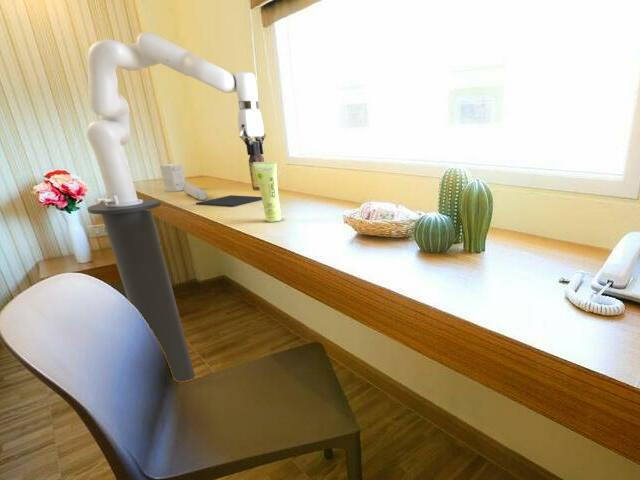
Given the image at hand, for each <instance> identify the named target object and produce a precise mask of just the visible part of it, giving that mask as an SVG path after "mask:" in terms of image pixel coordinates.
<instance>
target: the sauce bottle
mask: <svg viewBox="0 0 640 480" xmlns="http://www.w3.org/2000/svg"><path fill="white" fill-rule="evenodd" d="M252 145H254V152H255V155H249V158H248V167H249V175H250V182H251V188H252V190H253V191H258V192H259V191H260V188H259V184H258V180H257V176H256V172H255V169H254V166H253V162H265V159H264V156H263V154H261V153H260V147H259V145H260V143H259V141H255V140H252Z"/></svg>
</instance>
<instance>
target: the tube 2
mask: <svg viewBox="0 0 640 480" xmlns="http://www.w3.org/2000/svg"><path fill="white" fill-rule="evenodd" d="M253 166H254V169H255V172H256V176H257V180H258V184H259V188H260V197H262V200H261V201H262V206H263V210H264V216H265V221H266V222H268V223H274V222H280V221H281V220H282V216H281V214H282V213H281V206H280V198H279V197H280V196H279V188H278V176H277V161H273V160H272V161H264V162H253Z"/></svg>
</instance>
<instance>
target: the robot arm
mask: <svg viewBox="0 0 640 480" xmlns="http://www.w3.org/2000/svg"><path fill="white" fill-rule="evenodd" d="M86 57H87V59H86V64H87V76H88V77H87V87H88V106H89V108H90V110H91V111H92V112H93V113H94V114H96V115H98V116H100V117H101V119H99V120H98V119H97V120H93V121H92V122H90V123H89V124H88V126H87V127H86V137H87V139H88V142H89V144H90V146H91V149H92V150H93V151H92V152H93V153H94V156H95V159H96V162H97V165H98V168H99V172H100V175H101V178H102V182H103V185H104V188H105V191H106V194H104V196H103V197H99V198H95V200H94V201H95V204H96V205H97V204H101V203H105V205H106V207H126V206H133V205H138V204H142V203H143V200H141V199H142V198H138V195H137V191H136V187H135V184H134V179H133V176H132V173H131V169H130V164H129V162H128V158H127V155H126V153H125V151H124V148H123V146H125V145H126V144H127V143H128V142H129V140H130V137H131V119H130V118H131V116H130V113H131V112H130V105H129V103H128V101H127V99H126V98H125V97H124V95H122V94H121V93H119V90H118V87H119V84H118V83H119V82H118V81H119V80H118V75H117V72H116V71H117V69H122V70H126V71H132V72H133V71H134V72H135V71H139V70H143V69H147V68H149V67H153V66H156V65H159V64H161V65H163V66H165V67H167V68H169V69H172V70H173V71H176V72H178V73H180V74H182V75H184V76H187V77H190V78H193V79H195V80H197V81H199V82H201V83H204V84H206V85H208V86H210V87H211V88H214V89H216V90H218V91H219V92H220V91H221V92H222V93H225V94H232V93H236V94H237V101H238V110H237V123H238V124H237V125H238V134H239V138H240V139H241V140H242V141H243V142H244V145H246V152H247V155H248V156H250V155H255V152H254V145H252V141H253V138H254V141H259V143H260V145H259V147H260V153H261V155H264V149H263V145H264V140H265V139H266V137H267V134H266V133H265V127H264V121H263V117H262V113H261V109H260V103H259V94H258V87H257V80H256V75H255V74H254V73H253V72H251V71H237V72H229V71H227V70H226V69H225V68H222V67H220V66H218V65H216V64H214V63H212V62H210V61H208V60H206V59H204V58H202V57H200V56H198V55H196V54H195V53H193V52H192V51H189V50H188V49H186V48H184V47H182V46H180V45H178V44H175V43H174V42H172V41H170V40H168V39H166V38H163V37H161V36H159V35H158V34H156V33H153V32H150V31H142V32H140V33H139V34H138V35H137V37H136V42H134V43H130V44H126V43H124V42H121V41H119V40H115V39H111V38H110V39H109V38H105V39H100V40H97V41H96V42H93V44H92V45H91V46H90V47H89V49H88V52H87V56H86Z"/></svg>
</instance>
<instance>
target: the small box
mask: <svg viewBox="0 0 640 480" xmlns="http://www.w3.org/2000/svg"><path fill="white" fill-rule="evenodd" d="M159 167H160V172H161V176H162V180H163V183H164V188H165V191H166V192H172V193H173V192H176V193H177V192H181V191H184V190H183V187H184V185H185V184H187V182H186V177H185V173H184V167H183V164H182V163H169V164H161V165H159Z"/></svg>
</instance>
